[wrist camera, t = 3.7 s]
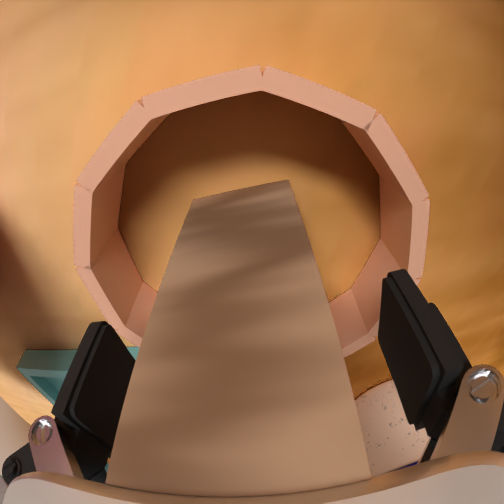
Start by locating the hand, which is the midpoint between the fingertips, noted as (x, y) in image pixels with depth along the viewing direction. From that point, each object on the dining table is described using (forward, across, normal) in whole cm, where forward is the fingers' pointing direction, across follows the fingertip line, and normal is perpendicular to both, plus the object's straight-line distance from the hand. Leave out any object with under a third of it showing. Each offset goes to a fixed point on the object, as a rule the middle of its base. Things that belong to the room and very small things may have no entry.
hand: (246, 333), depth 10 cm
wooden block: (+6, 0, 0) cm, 6 cm away
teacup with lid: (+7, -10, +21) cm, 24 cm away
